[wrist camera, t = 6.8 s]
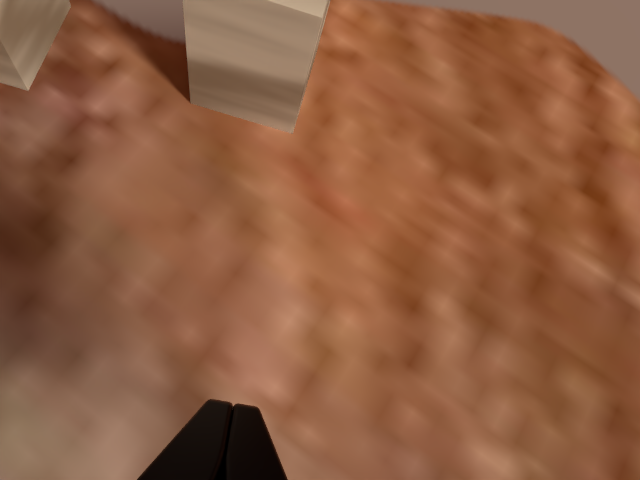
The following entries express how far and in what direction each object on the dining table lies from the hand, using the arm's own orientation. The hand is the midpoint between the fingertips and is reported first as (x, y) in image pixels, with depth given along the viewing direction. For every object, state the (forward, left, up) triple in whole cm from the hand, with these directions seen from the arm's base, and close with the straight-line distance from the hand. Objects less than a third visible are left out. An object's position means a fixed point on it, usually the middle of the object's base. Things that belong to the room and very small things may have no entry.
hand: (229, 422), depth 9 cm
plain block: (+10, +13, -14) cm, 21 cm away
